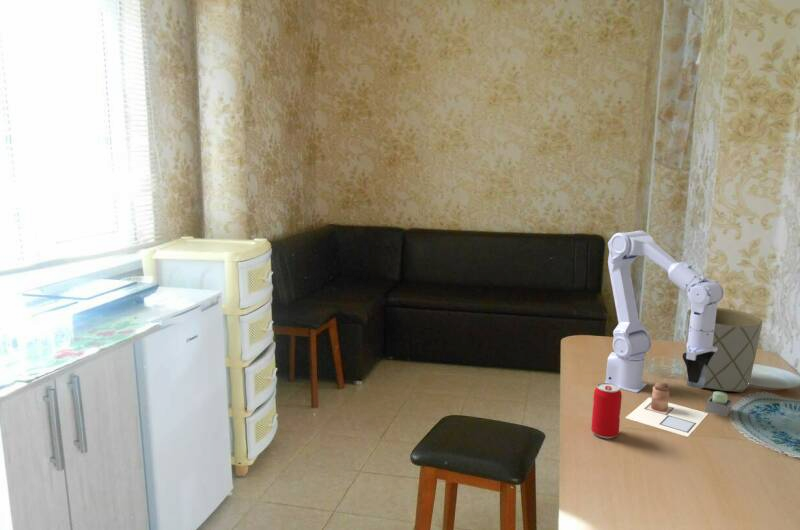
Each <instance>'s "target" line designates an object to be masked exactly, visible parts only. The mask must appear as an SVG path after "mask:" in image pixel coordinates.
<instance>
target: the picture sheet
mask: <svg viewBox="0 0 800 530" xmlns="http://www.w3.org/2000/svg"><path fill="white" fill-rule="evenodd" d="M651 402H652V397H648V398H646V399H645V400H644V401H643V402H642V403H641V404H639V405H638V407H636V408H635V409H634V410H633V411H632V412H630V413H629V414H628V415H626V417H625V419H627V420H631V421H634V422H637V423H640V424H643V425H647V426H651V427H653V428H658V429H660V430H664V431H666V432H667V431H668V432H670V433H673V434H677V435H680V436H683V437H687V438H688V437H690V435H691V434H692V432H694V430H695V429H696V428H697V427H698V426H699V425H700V423H702V422H703V420H704V419H706V417H707V416H708V414H709V412H706V411H705V412H704V411H700V410H697V409H693V408H690V407H686V406H683V405H679V404H676V403H673V402H672V403H671V402H668V410H667V411H665V412H660V411H655V410H653V409H652V408H651Z"/></svg>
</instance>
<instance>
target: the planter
mask: <svg viewBox="0 0 800 530" xmlns="http://www.w3.org/2000/svg"><path fill="white" fill-rule="evenodd" d="M690 316H691V308H690V309H688V310H687V312H686V321H685V345H684V347H685V348H684V349H685V351H684V353H687V347H686V344H687V342H688V334H689V325H690ZM762 324H763V320H762V319H761V318H759V317H758V316H756V315H755V314H754V315H753V314H751V313H748V312H745V311H740V310H736V309H732V308H731V309H730V308H722V307H717V312H716V320H715V329H714V337H713V347H717V351H716V352H715V354H714V355H713V356H712V358H711V359H710V361H709V363H708V366H707V369H706V374H705V383H704V387H703V388H704V389H709V390H710V389H711V390H716V391H721V392H735V393H744V391H746V389H747V388H748V387H749V386H748V383H751V379H752V374H753V369H754V364H755V360H756V355H757V349H758V345H759V342H760V337H761V331H762V326H763V325H762ZM683 375H684V376H685V378H686V379H687V378H688V374H687V367H686V364H685V363H684V373H683ZM703 388H702V389H703Z"/></svg>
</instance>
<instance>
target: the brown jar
mask: <svg viewBox="0 0 800 530" xmlns="http://www.w3.org/2000/svg"><path fill="white" fill-rule="evenodd" d="M651 398H652V402H651V408H652V409H653V410H655V411H660V412H665V411H667V410H668V403H669V399H670V388H669V385H668V384H667V383H664V382H656V383H654V385H653V386H652V395H651Z"/></svg>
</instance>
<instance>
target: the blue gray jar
mask: <svg viewBox="0 0 800 530" xmlns="http://www.w3.org/2000/svg"><path fill="white" fill-rule="evenodd" d="M705 374H706V365H704V366H703V369H702V372H701V375H700V379H699V381H698V383H694V382H690V381H689V380H688V378H686V379H687V381H686V385H687V386H688V387H690V388H695V389H703V387H704V383H705Z"/></svg>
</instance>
